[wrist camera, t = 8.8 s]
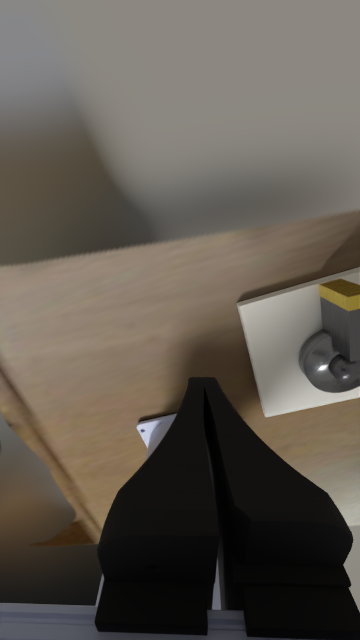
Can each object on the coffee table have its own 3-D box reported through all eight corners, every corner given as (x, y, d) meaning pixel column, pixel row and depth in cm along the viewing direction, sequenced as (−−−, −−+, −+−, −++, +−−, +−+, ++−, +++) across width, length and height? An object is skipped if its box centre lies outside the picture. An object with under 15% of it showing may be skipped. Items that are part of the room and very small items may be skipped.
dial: (367, 374, 21) (402, 402, 18) (301, 388, 22) (323, 418, 19) (368, 270, 18) (412, 280, 14) (289, 291, 18) (313, 306, 15)
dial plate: (401, 379, 23) (411, 387, 22) (262, 410, 25) (265, 418, 24) (407, 252, 18) (421, 254, 17) (236, 302, 20) (239, 307, 19)
